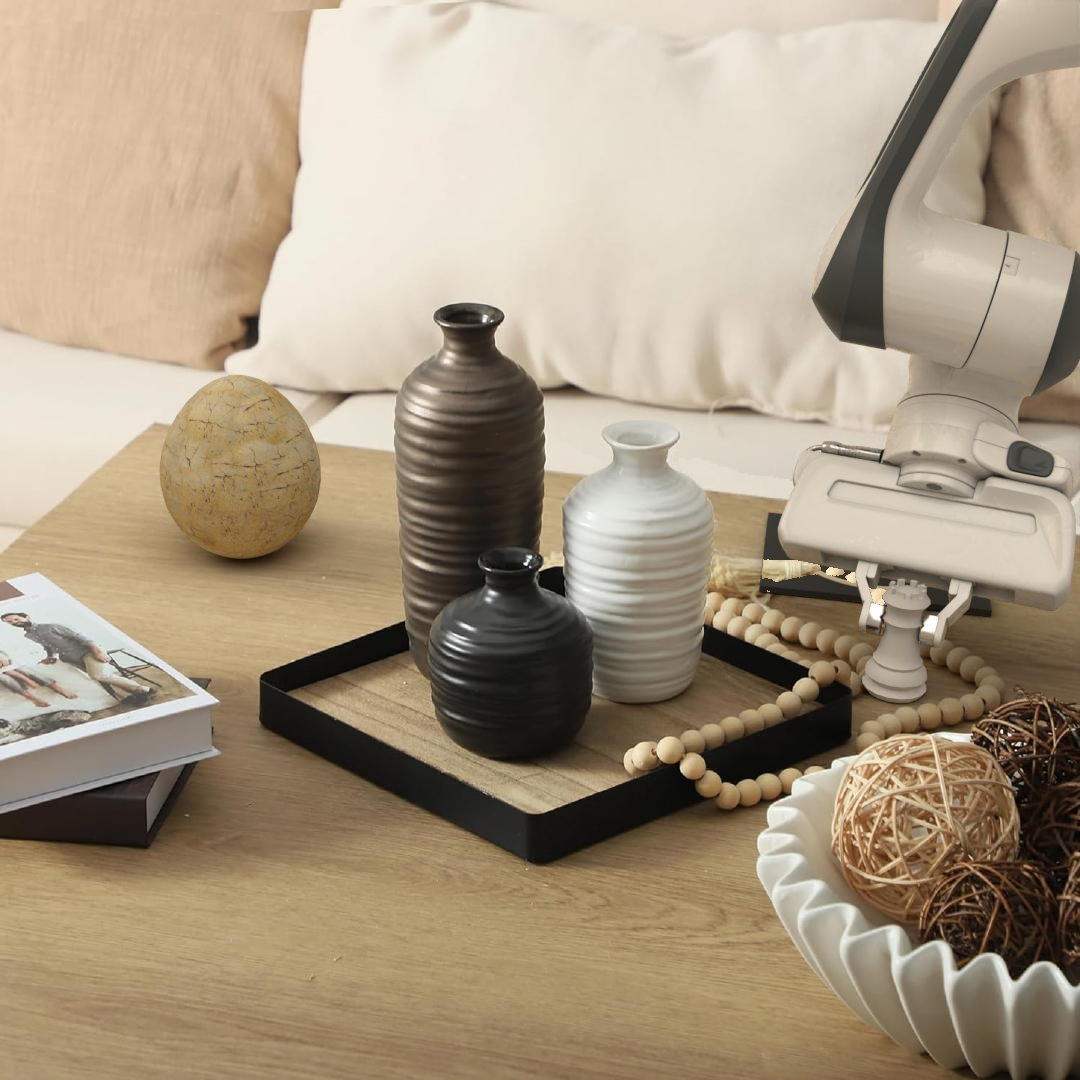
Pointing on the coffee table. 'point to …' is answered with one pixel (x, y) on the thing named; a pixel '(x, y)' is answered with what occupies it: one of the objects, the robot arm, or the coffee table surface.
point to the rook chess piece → (899, 646)
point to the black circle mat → (842, 580)
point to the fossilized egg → (240, 468)
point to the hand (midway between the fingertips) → (899, 637)
